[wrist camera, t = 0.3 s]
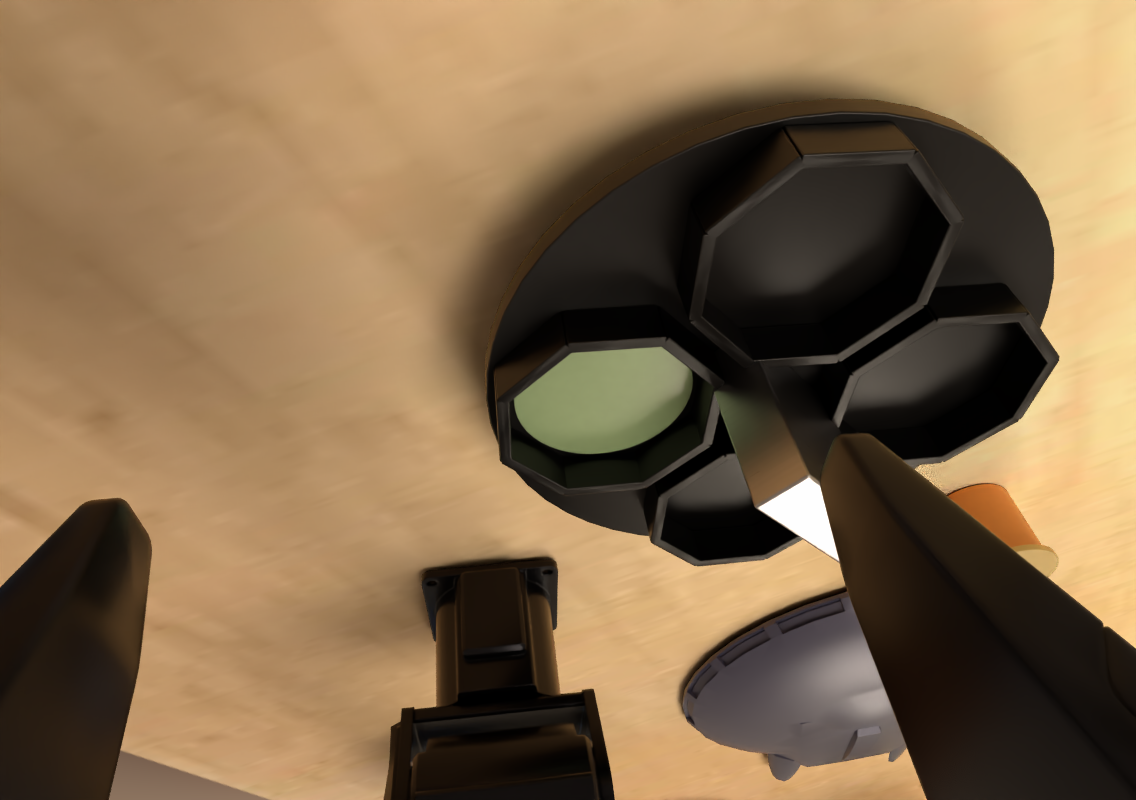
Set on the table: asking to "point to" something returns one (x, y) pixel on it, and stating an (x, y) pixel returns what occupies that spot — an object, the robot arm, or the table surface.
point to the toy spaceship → (797, 692)
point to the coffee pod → (1006, 523)
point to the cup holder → (770, 322)
